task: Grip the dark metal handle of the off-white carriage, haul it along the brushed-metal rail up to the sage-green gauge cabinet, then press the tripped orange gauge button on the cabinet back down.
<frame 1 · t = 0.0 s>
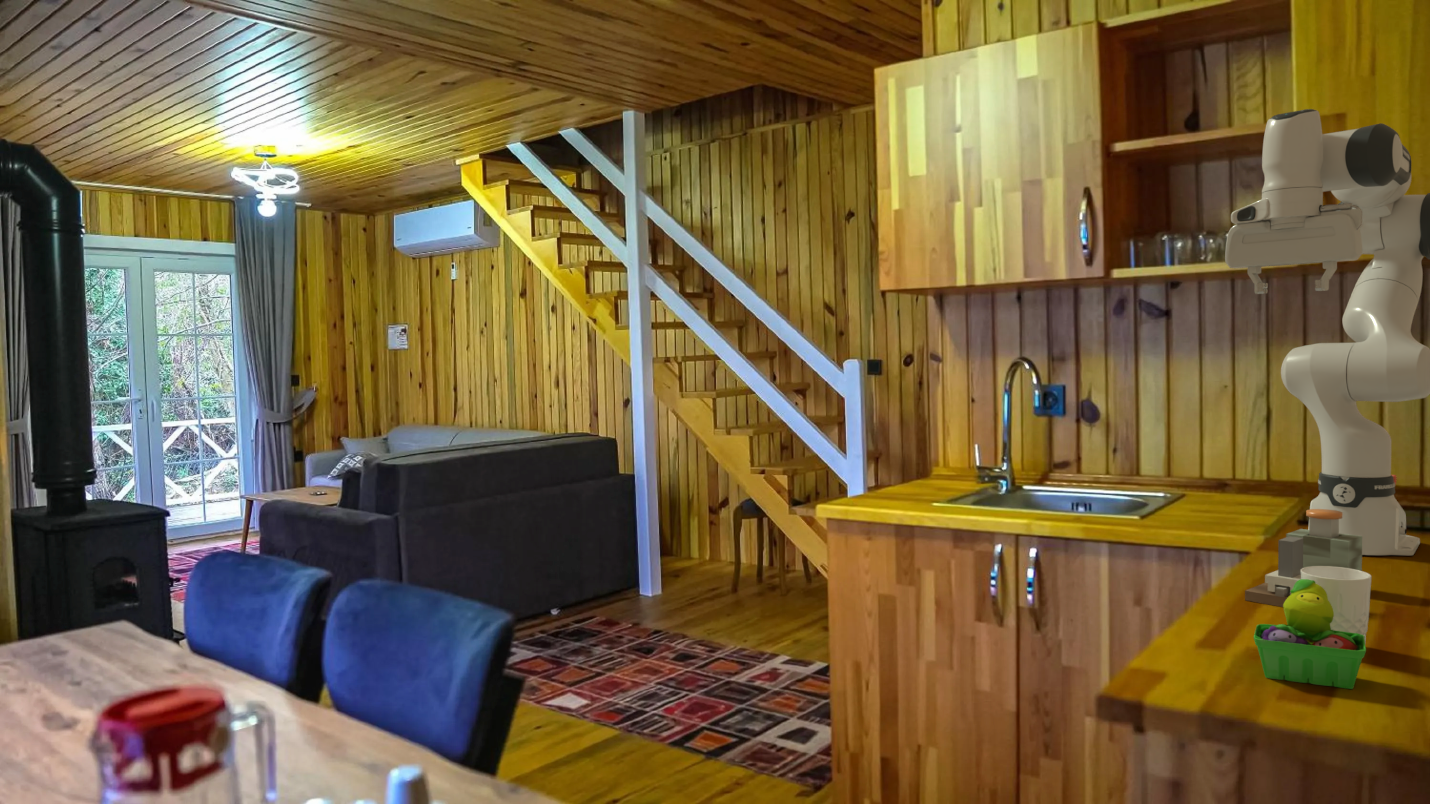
hand: (1290, 292, 167), 48 cm above the counter, fingers open, 8 cm apart
white cup: (1334, 649, 131), on the counter
carriage: (1290, 564, 154), point 6 cm above the counter, slide at 0.0 cm
gauge button: (1324, 523, 161), point 10 cm above the counter, slide at 0.0 cm
fruit basket: (1308, 677, 121), on the counter
rail bed: (1305, 594, 158), on the counter
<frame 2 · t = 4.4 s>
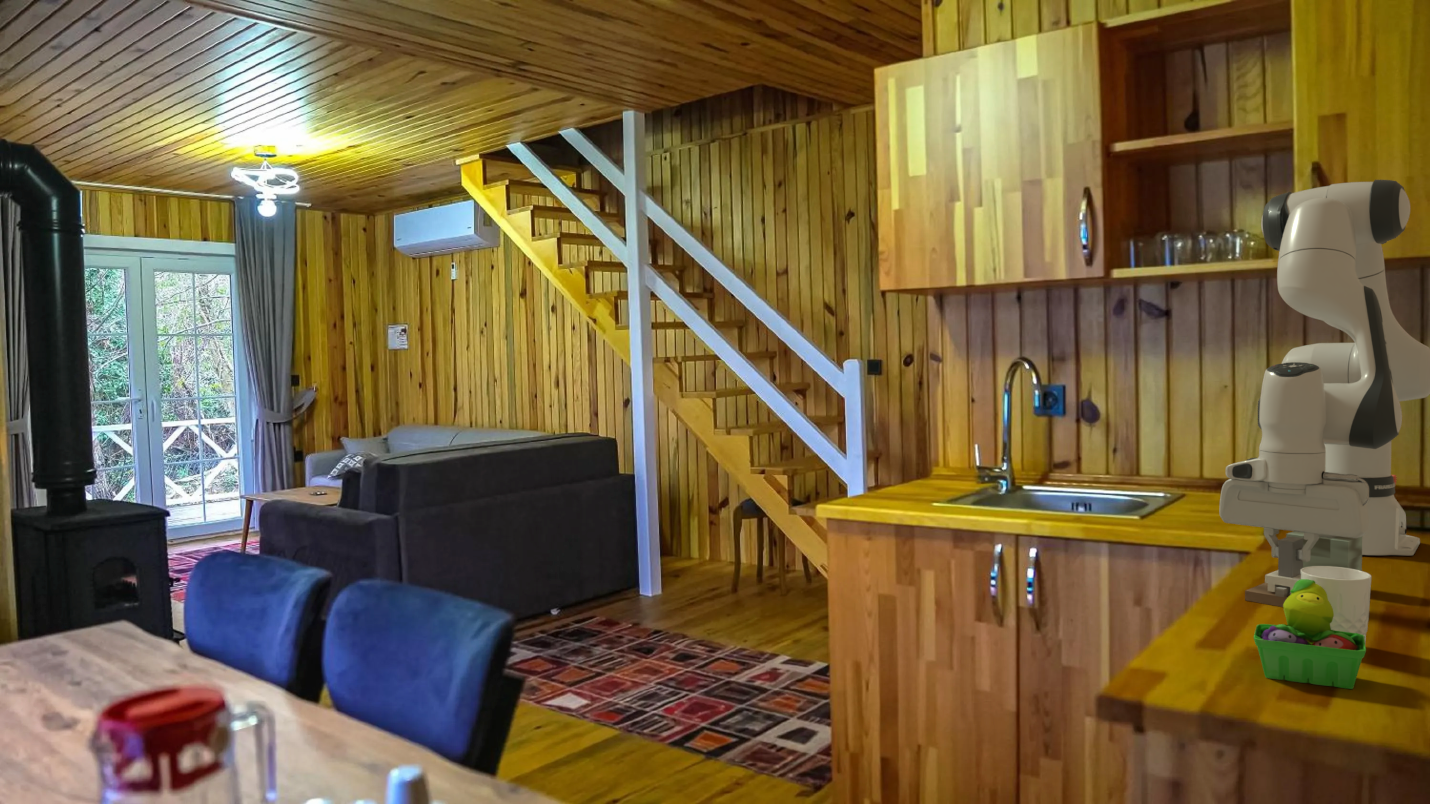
hand: (1290, 559, 154), 7 cm above the counter, fingers closed on carriage, 2 cm apart
carriage: (1290, 564, 154), point 6 cm above the counter, slide at 0.0 cm, touching gripper
everything else where it was.
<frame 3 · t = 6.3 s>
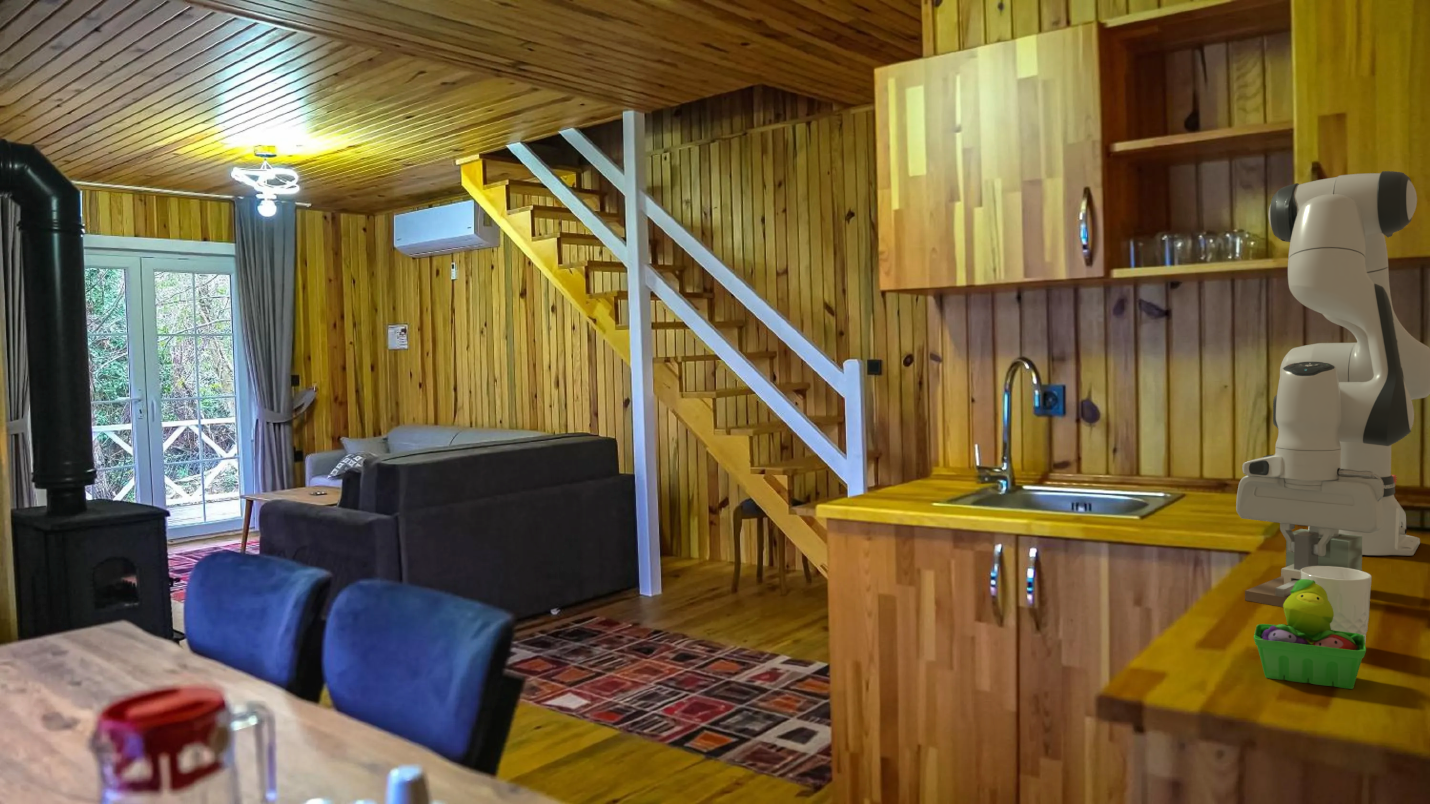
hand: (1306, 553, 157), 7 cm above the counter, fingers closed on carriage, 2 cm apart
carriage: (1306, 558, 157), point 6 cm above the counter, slide at 6.0 cm, touching gripper
everything else where it was.
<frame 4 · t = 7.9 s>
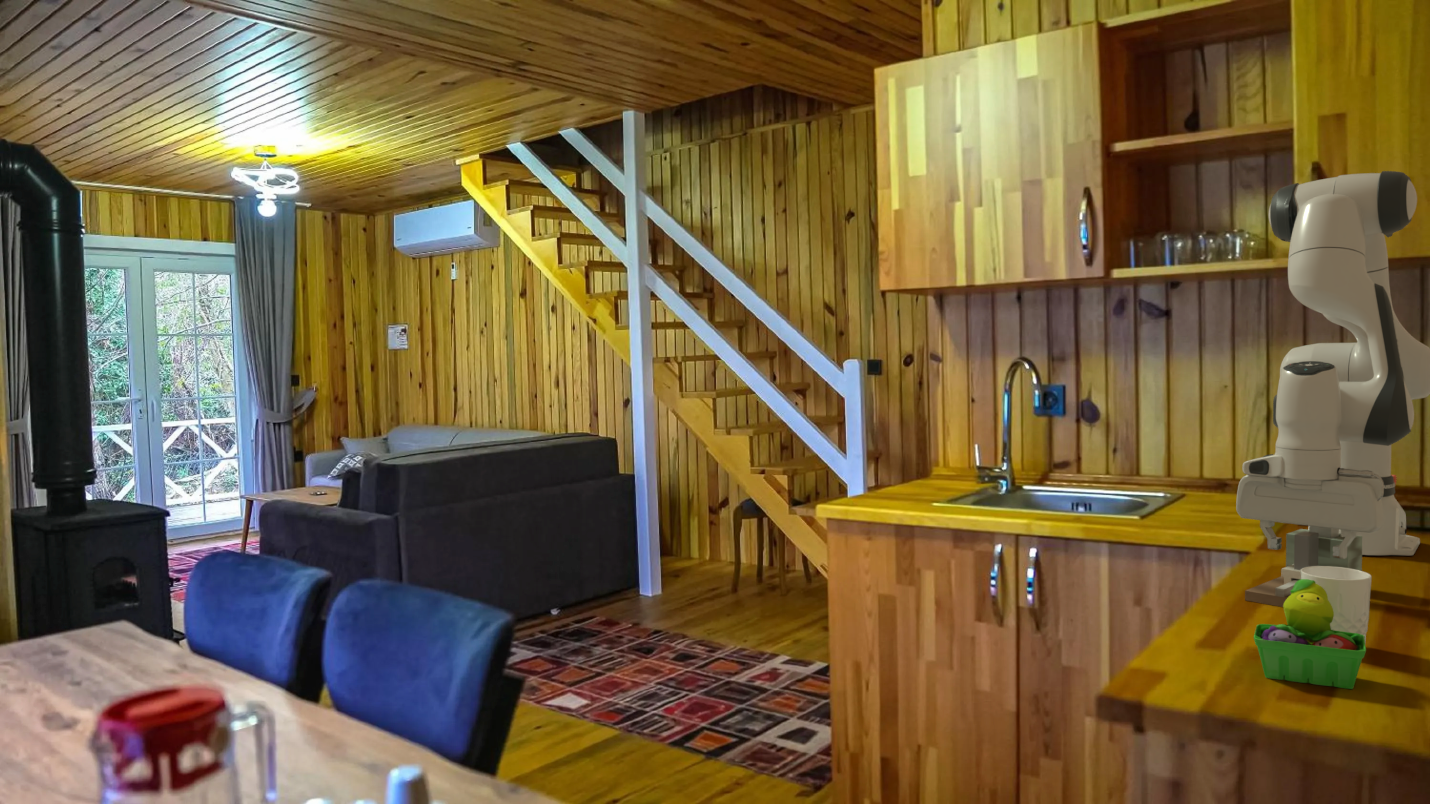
hand: (1306, 553, 157), 7 cm above the counter, fingers open, 8 cm apart
carriage: (1306, 558, 157), point 6 cm above the counter, slide at 6.0 cm
everything else where it was.
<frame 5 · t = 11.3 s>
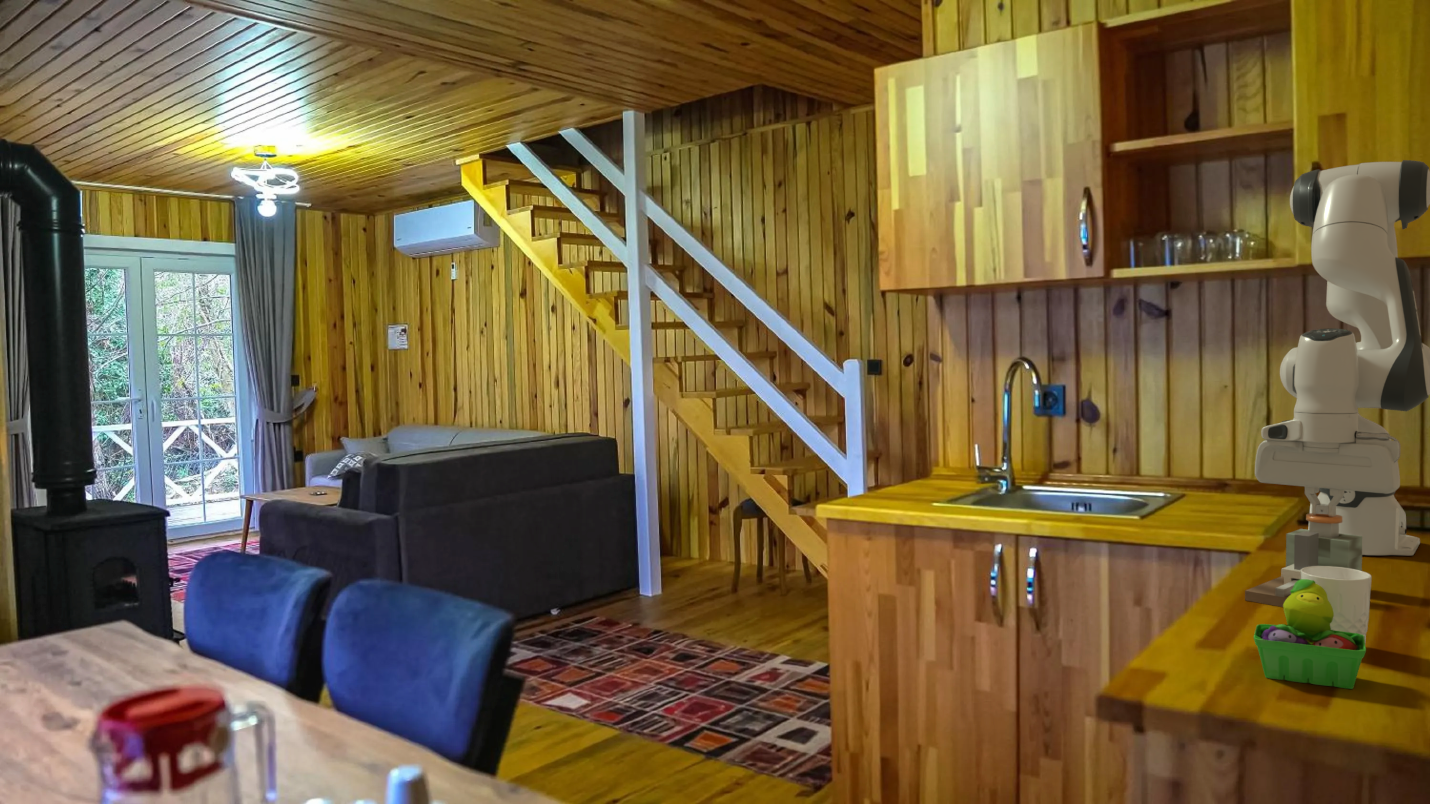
hand: (1324, 515, 161), 12 cm above the counter, fingers closed, pressing on gauge button
gauge button: (1324, 528, 162), point 10 cm above the counter, slide at 0.7 cm, touching gripper
everything else where it was.
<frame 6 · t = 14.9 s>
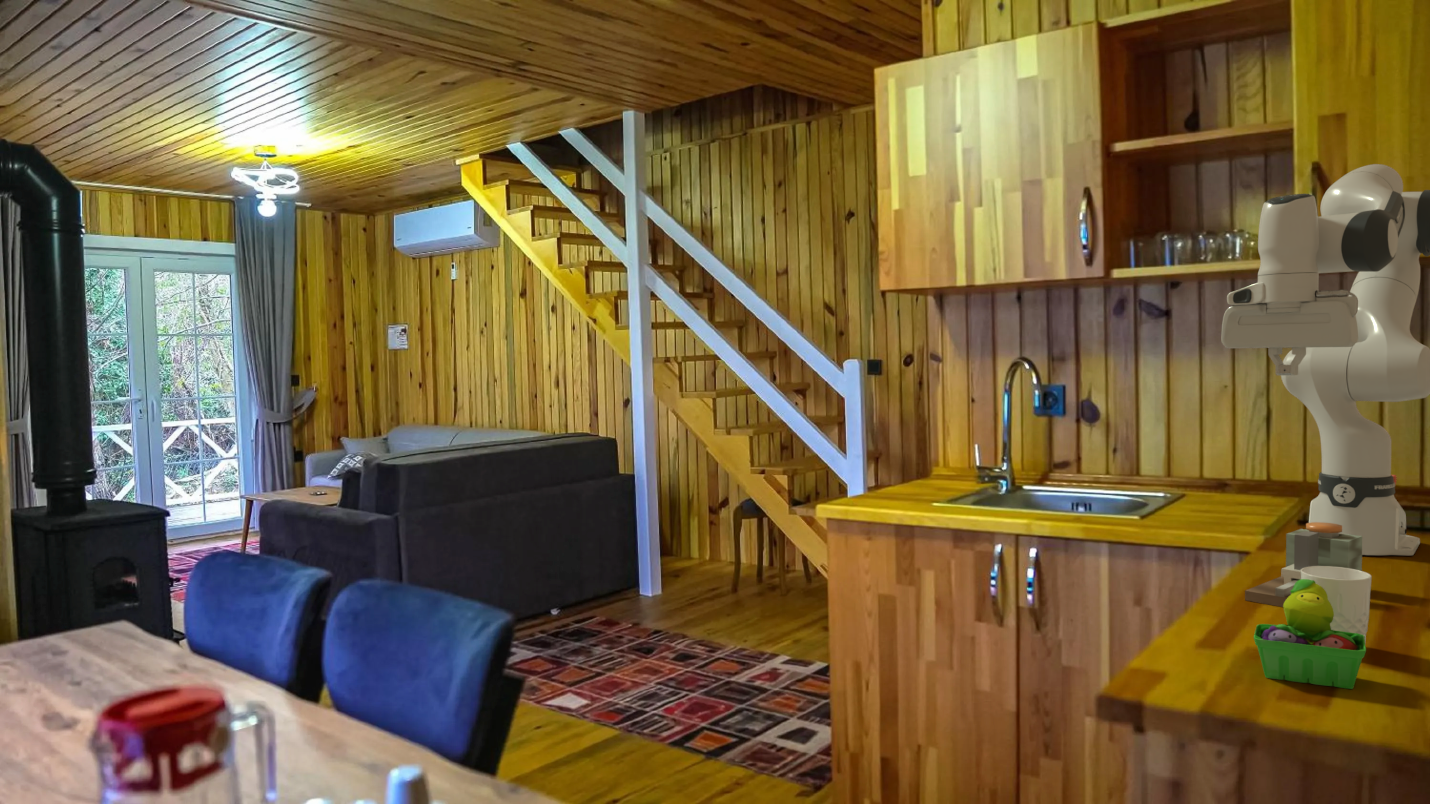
hand: (1286, 375, 167), 34 cm above the counter, fingers closed
gauge button: (1323, 537, 162), point 8 cm above the counter, slide at 2.2 cm
everything else where it was.
at the end: carriage slide at 6.0 cm; gauge button slide at 2.2 cm; the gripper is holding nothing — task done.
